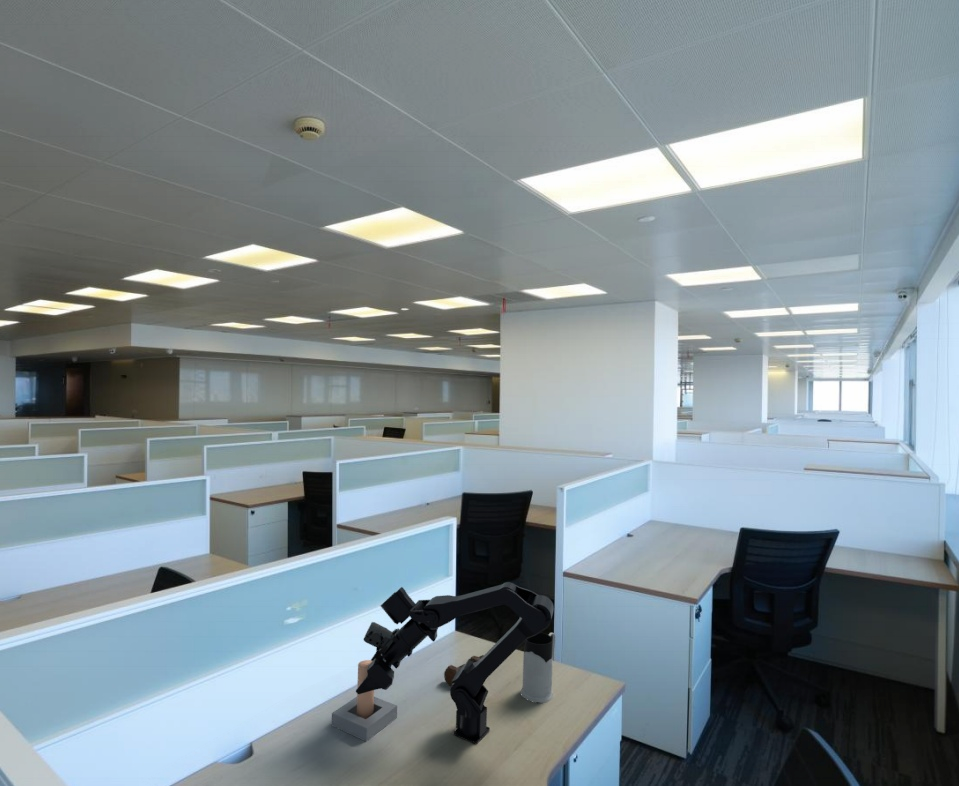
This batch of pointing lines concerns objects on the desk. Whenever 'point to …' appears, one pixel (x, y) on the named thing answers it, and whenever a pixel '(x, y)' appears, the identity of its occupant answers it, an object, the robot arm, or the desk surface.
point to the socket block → (362, 727)
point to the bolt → (452, 670)
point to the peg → (365, 699)
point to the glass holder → (538, 667)
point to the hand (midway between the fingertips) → (360, 682)
